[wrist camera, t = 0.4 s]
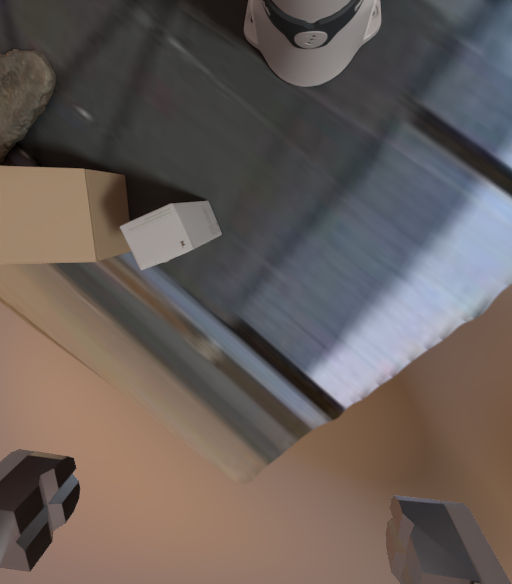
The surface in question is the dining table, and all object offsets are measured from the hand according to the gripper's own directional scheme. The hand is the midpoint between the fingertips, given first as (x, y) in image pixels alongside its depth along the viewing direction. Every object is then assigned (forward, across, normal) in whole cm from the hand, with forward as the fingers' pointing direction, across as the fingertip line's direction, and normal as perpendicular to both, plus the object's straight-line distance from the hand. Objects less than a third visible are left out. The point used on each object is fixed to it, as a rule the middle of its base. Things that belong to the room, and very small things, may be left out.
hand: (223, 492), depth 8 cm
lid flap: (+33, +38, -5) cm, 51 cm away
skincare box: (+47, +16, -2) cm, 50 cm away
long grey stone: (+48, +52, -18) cm, 73 cm away
